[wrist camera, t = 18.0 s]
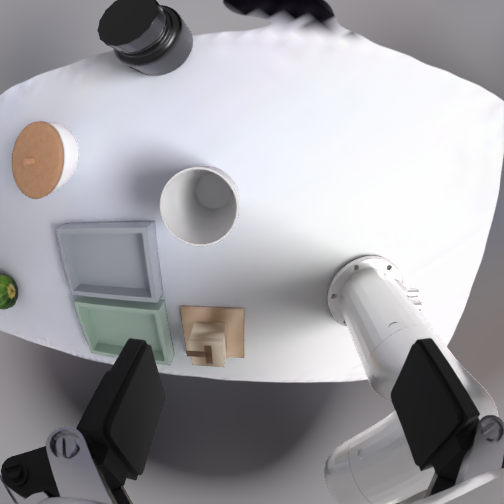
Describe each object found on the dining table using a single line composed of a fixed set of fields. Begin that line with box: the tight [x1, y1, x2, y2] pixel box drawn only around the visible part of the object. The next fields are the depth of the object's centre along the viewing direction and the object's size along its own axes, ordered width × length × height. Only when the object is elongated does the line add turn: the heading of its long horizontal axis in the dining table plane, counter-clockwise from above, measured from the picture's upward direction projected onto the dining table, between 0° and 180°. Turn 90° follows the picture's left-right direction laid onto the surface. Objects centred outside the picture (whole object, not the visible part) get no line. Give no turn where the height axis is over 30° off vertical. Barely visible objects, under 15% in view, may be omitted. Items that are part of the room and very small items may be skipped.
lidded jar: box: [12, 122, 79, 199], centre depth 30 cm, size 11×11×9 cm
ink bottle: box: [98, 0, 193, 75], centre depth 24 cm, size 10×9×12 cm
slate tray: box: [56, 221, 163, 303], centre depth 40 cm, size 17×12×3 cm
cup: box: [160, 166, 239, 246], centre depth 32 cm, size 8×8×10 cm
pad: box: [180, 306, 244, 358], centre depth 45 cm, size 10×10×1 cm
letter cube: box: [186, 321, 227, 367], centre depth 43 cm, size 6×5×5 cm
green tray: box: [73, 295, 174, 365], centre depth 44 cm, size 17×12×3 cm
